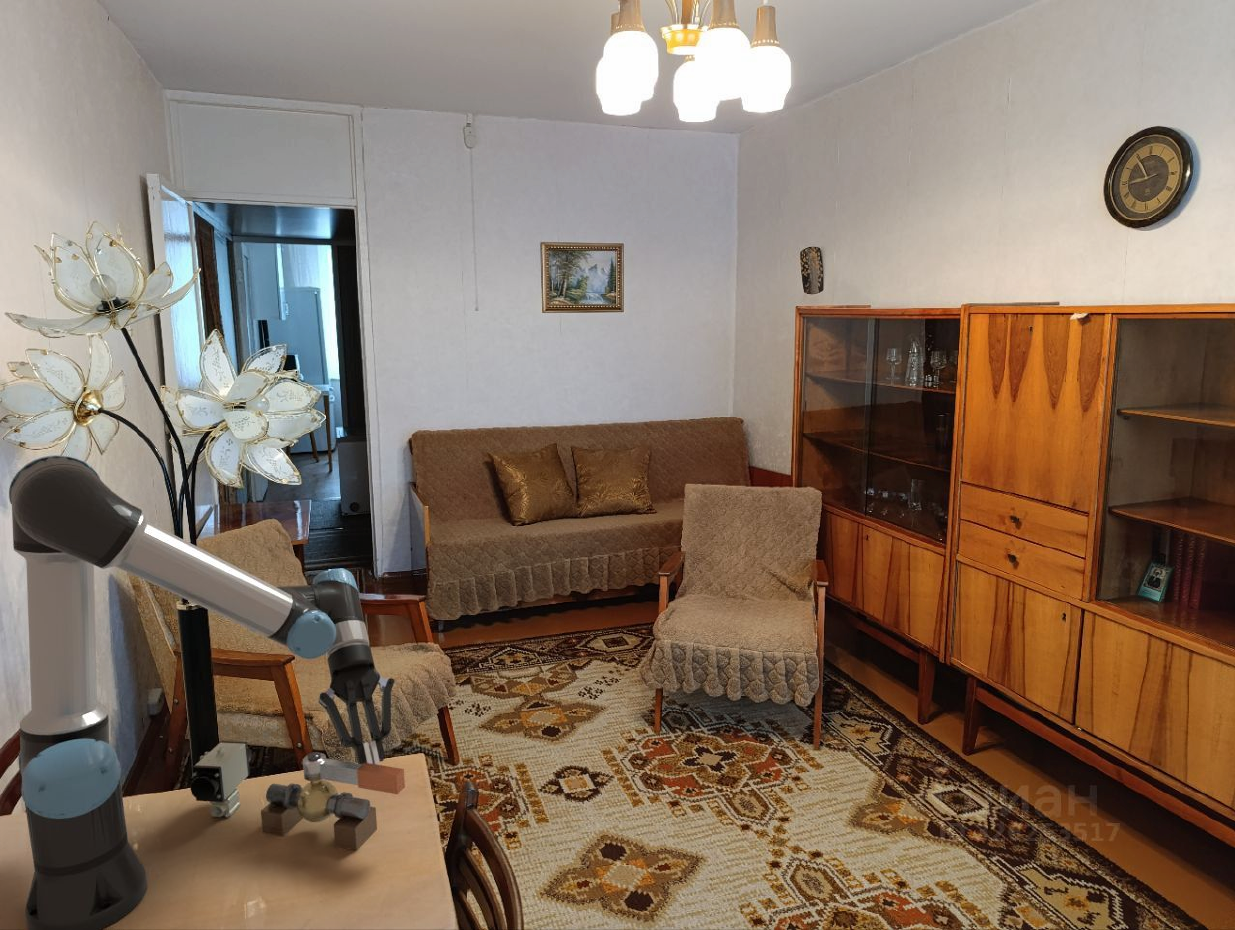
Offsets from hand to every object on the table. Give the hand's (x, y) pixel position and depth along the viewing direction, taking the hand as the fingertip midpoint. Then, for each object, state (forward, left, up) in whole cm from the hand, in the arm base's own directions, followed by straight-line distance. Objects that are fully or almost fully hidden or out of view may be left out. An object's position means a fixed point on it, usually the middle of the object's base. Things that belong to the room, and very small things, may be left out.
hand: (376, 782), depth 141 cm
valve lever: (-3, -1, +1) cm, 4 cm away
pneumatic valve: (-28, +9, -9) cm, 31 cm away
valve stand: (-10, +1, -9) cm, 14 cm away
